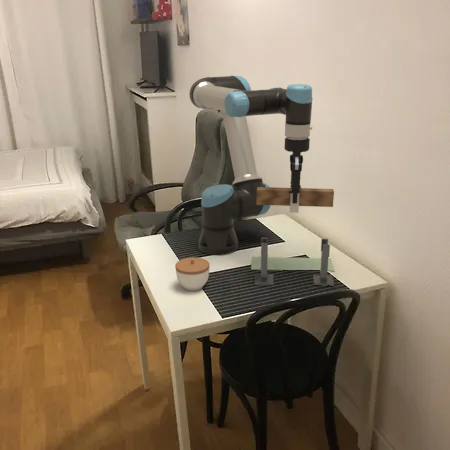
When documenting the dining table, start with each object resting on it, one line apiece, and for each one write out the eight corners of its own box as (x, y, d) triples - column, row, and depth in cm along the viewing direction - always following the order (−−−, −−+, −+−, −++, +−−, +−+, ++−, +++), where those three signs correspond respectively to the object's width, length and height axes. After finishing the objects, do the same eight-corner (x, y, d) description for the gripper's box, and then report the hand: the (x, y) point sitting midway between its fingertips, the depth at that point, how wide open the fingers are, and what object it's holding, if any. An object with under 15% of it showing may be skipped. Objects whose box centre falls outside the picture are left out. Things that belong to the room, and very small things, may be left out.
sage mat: (251, 269, 169) (251, 268, 169) (252, 257, 178) (251, 256, 178) (334, 271, 166) (334, 270, 166) (330, 259, 176) (330, 258, 176)
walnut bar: (256, 204, 158) (256, 189, 156) (256, 201, 161) (257, 187, 159) (332, 206, 155) (334, 191, 154) (332, 203, 158) (333, 188, 156)
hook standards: (254, 284, 158) (254, 244, 153) (255, 276, 164) (255, 237, 159) (333, 286, 156) (336, 245, 151) (331, 278, 162) (334, 238, 157)
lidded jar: (179, 296, 152) (178, 268, 149) (173, 281, 162) (172, 254, 158) (213, 291, 154) (213, 264, 151) (205, 276, 164) (204, 250, 161)
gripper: (311, 143, 142) (306, 219, 151) (308, 132, 157) (304, 202, 166) (285, 142, 143) (282, 218, 152) (284, 132, 158) (282, 201, 167)
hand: (293, 210), depth 159 cm, fingers closed on walnut bar, 3 cm apart
